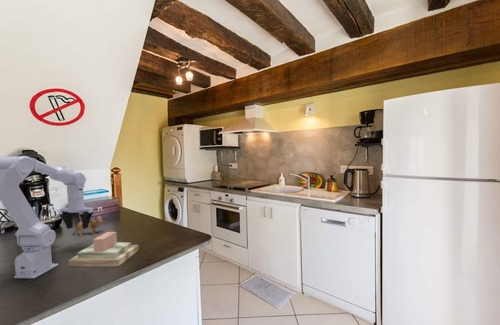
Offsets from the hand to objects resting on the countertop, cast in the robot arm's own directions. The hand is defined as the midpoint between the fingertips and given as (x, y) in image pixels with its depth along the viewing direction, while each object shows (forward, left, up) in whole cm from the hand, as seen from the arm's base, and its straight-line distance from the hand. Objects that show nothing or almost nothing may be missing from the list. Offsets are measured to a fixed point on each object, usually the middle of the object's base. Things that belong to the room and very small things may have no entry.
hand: (77, 228), depth 100 cm
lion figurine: (+19, +11, -10) cm, 25 cm away
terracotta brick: (-8, -19, -5) cm, 21 cm away
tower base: (-8, -19, -10) cm, 23 cm away
